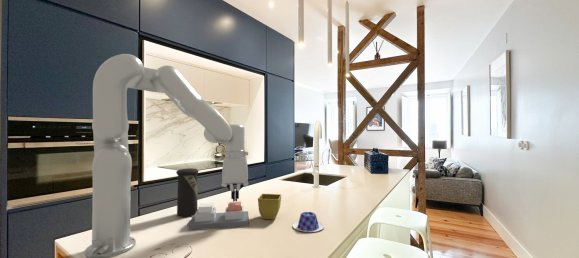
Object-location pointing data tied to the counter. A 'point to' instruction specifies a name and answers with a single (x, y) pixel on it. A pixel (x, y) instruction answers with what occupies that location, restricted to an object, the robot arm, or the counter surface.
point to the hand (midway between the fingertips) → (235, 200)
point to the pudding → (308, 222)
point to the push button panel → (219, 219)
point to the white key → (205, 208)
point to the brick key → (234, 206)
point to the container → (187, 192)
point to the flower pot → (269, 205)
